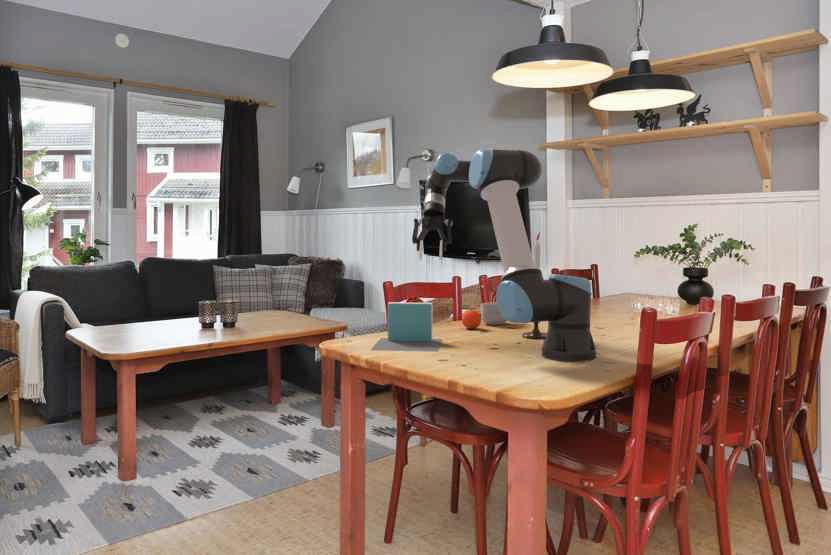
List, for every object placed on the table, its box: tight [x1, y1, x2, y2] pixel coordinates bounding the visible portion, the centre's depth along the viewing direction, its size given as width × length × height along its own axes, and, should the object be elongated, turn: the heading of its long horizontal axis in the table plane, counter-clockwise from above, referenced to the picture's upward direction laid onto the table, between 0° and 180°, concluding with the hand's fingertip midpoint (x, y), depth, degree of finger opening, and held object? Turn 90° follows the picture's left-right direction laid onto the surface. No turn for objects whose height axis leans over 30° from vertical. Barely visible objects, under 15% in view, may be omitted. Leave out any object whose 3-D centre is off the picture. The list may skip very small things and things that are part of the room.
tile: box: [387, 301, 433, 341], centre depth 209 cm, size 3×14×12 cm, turn 84°
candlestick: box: [521, 231, 547, 340], centre depth 217 cm, size 11×11×35 cm
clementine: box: [459, 308, 482, 330], centre depth 235 cm, size 8×7×7 cm
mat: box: [370, 337, 443, 352], centre depth 203 cm, size 20×20×1 cm
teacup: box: [479, 301, 508, 326], centre depth 246 cm, size 14×11×8 cm
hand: (430, 257), depth 219 cm, fingers open, 6 cm apart
